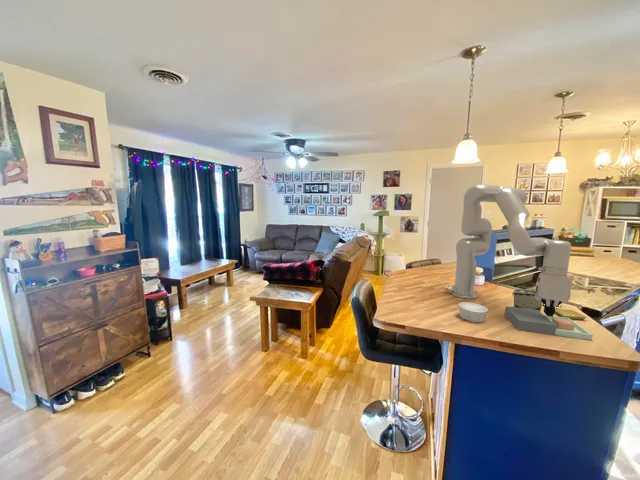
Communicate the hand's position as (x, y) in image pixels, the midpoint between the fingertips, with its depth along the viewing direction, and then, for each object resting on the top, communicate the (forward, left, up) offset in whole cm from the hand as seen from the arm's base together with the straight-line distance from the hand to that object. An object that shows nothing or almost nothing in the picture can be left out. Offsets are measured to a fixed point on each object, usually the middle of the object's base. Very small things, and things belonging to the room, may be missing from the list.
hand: (548, 315), depth 108 cm
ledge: (-7, 0, -5) cm, 8 cm away
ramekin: (-28, -2, -5) cm, 28 cm away
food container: (-3, +16, -5) cm, 17 cm away
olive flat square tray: (+14, +17, -6) cm, 23 cm away
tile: (+5, +1, -2) cm, 6 cm away
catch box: (+5, 0, -5) cm, 7 cm away
